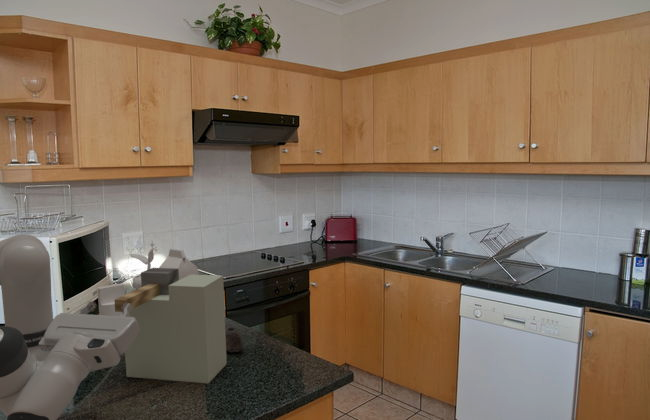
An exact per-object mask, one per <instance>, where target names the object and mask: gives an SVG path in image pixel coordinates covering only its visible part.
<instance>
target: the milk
mask: <svg viewBox="0 0 650 420" xmlns="http://www.w3.org/2000/svg"><path fill="white" fill-rule="evenodd" d="M158 268H178V270H179V280H181V279H183V278H185V277H187V276H188V275H200V273H199V269H198V267H197V265H195V264H194V263H193V262H192V261H191V260H189V258H187V257H186V254H185V252H184V250H183V249H177V248H171V249H169V252H168V256H167V257H166V259H165V260H164V261H163V262H162V263H161V264H160V266H159V267H158Z"/></svg>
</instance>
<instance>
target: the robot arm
mask: <svg viewBox="0 0 650 420" xmlns="http://www.w3.org/2000/svg"><path fill="white" fill-rule="evenodd" d="M50 257H51V256H50V254H49V251H48V249H47V247H46V246H45V244H44V243H43V242H42V240H41V239H39V238H38V237H37V236H34V235H31V234H26V233H24V234H16V235H14V236H13V235H12V236H10V237H7V238H4V239H2V240H0V287H1V289H0V290H1V297H2V307H3V308H2V309H3V319H4V325H0V411H1V412H2V413H3V414H4V416H5V417H6V420H58V418H60V417H61V415H63V413H64V411H65V410H66V409H67V407H68V406H69V404H70V402H71V401H72V400H73V398H74V397H75V395H76V394H77V391H78V388H79V386H80V384H81V382H83V380H85V379H86V378H87V377H88V375H89V374H90V373H92V372H96V371H98V370H102V369H107V368H112V367H115V366H117V365H118V364H119V363H120V362H121V356H120V355H123V354H125V352H126V351H127V350H128V349H129V347H130V346H131V345H132V343H133V342H134V340H135V339H136V337H137V335H138V334H139V331H140V327H139V324H138V322H137V320H136V319H135V318H134V317H130V312H131V310H132V308H133V307H132V305H131V304H130V303H124V304H123V306H122V307H121V309H122V310H123V313H124V314H121V315H120V316H106V315H99V314H89V313H90V312H94V311H95V309H96V308H97V307H98V305H97V303H96V301H91V300H90V301H87V302H86V304H84V306H81V307H80V308H78V309H77V310H75V312H72V313H70V312H69V313H68V312H60V313H59V314H57V315H55V317H54V312H53V303H52V301H53V300H52V274H51V258H50Z"/></svg>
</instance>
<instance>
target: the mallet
mask: <svg viewBox="0 0 650 420" xmlns="http://www.w3.org/2000/svg"><path fill="white" fill-rule="evenodd" d="M140 274H141V285H142V287H141V288H139V289H137V290H136V289H135V290H132V291H129V292H128V293H126V294H124V295H123V296H121V297H119V298H117V299H115V312H123V310H122V309H121V307H122V306H123V304H124V303H130V304H131V305H132V307H133V308H135V307H137V306H139V305H141V304H143V303H145V302H147V301H149V300H151V299H153V298H155V297H157V296H159V295H169V285H171V284H173V283H175V282H177V281H179V270H178V268H159V267H151V268H150V269H148V270H147V269H146V270H144V271H142V272H140ZM133 308H132V309H133Z"/></svg>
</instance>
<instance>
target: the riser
mask: <svg viewBox="0 0 650 420" xmlns="http://www.w3.org/2000/svg"><path fill="white" fill-rule="evenodd" d="M224 287H225V286H224V275H220V274H219V275H218V274H216V275H214V274H211V275H210V274H209V275H208V274H199V275H188V276H187V277H185V278H183V279H181V280H179V281H177V282H175V283H173V284H171V285H169V295H159V296H157V297H155V298H153V299H151V300H149V301H147V302H145V303H143V304H141V305H139V306H137V307H135V308H133V309H132V310H131V312H130V317H134V318H135V319H136V320H137V322H138V324H139V327H140V331H139V334H138V335H137V337H136V339H135V340H134V342H133V343H132V345H131V346H130V347H129V349H128V350H127V351H126V352H125V353H124V356H125V357H124V358H125V370H126V371H125V373H126V378H137V379H149V380H163V381H171V382H172V381H174V382H183V383H184V382H186V383H197V384H210V382H211V381H213V379H214V378H215V377H216V376H217V375H218V374H219V373H220V372H221V371H222V369H224V367H225V366H226V365H227V364H228V363H227V359H228V358H227V350H226V335H225V325H226V317H225V315H226V311H225V310H226V309H225V294H224V293H225V288H224ZM122 313H123V312H122ZM123 314H124V313H123Z"/></svg>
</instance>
